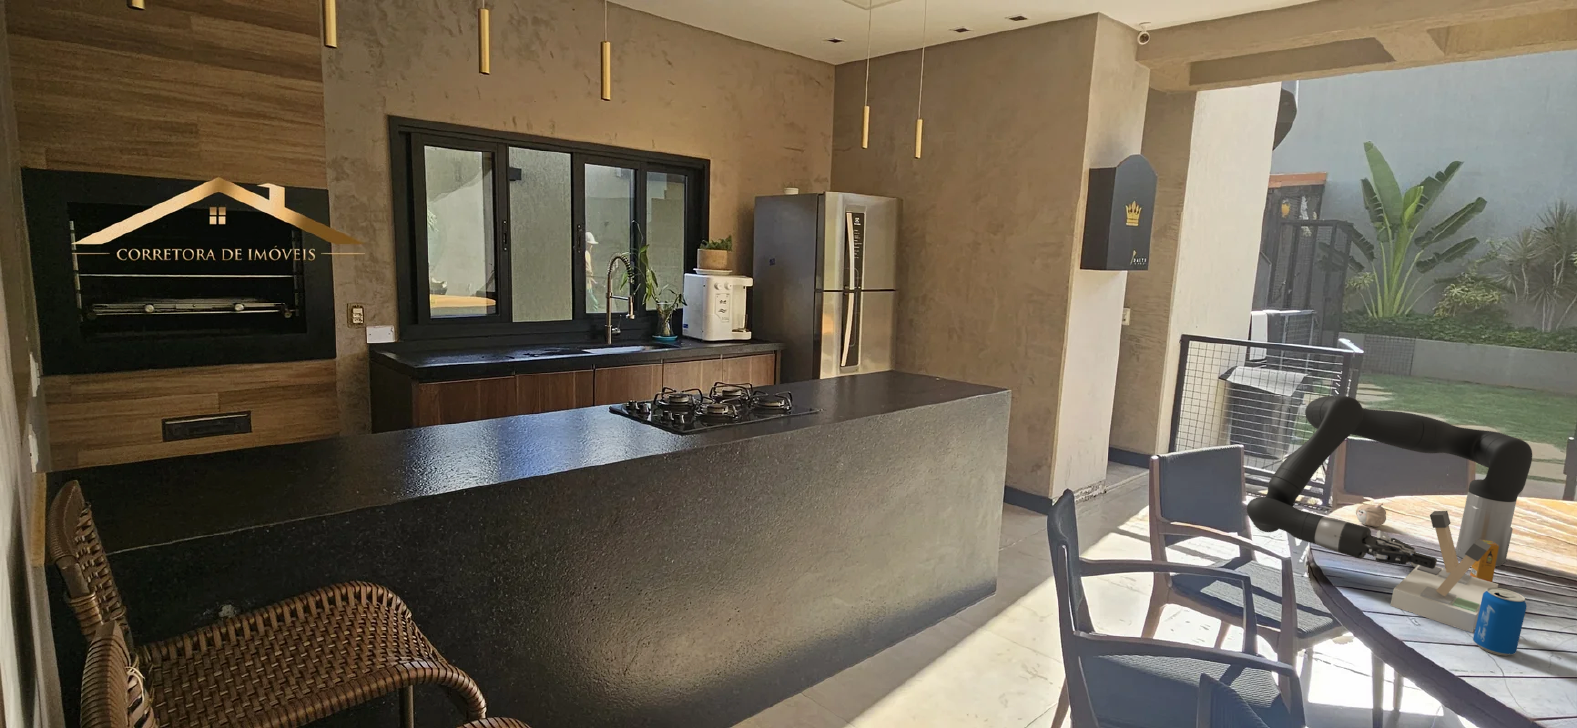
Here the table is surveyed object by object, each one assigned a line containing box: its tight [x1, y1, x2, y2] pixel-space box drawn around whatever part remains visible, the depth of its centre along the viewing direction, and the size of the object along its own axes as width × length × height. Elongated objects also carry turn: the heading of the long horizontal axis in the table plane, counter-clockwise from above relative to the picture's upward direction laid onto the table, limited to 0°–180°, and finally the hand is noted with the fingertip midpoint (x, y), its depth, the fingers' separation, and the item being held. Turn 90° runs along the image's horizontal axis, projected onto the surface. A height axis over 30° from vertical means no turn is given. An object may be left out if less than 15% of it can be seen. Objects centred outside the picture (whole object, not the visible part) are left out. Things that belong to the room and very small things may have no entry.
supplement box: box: [1469, 540, 1499, 582], centre depth 185 cm, size 3×3×10 cm
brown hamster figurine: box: [1355, 502, 1387, 528], centre depth 219 cm, size 7×6×8 cm
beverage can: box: [1472, 587, 1528, 657], centre depth 154 cm, size 6×6×12 cm
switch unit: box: [1390, 565, 1499, 633], centre depth 173 cm, size 14×24×4 cm, turn 129°
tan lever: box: [1436, 539, 1491, 596], centre depth 164 cm, size 2×4×14 cm, turn 130°
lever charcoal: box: [1429, 510, 1460, 573], centre depth 178 cm, size 2×4×14 cm, turn 128°
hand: (1435, 563), depth 168 cm, fingers closed
